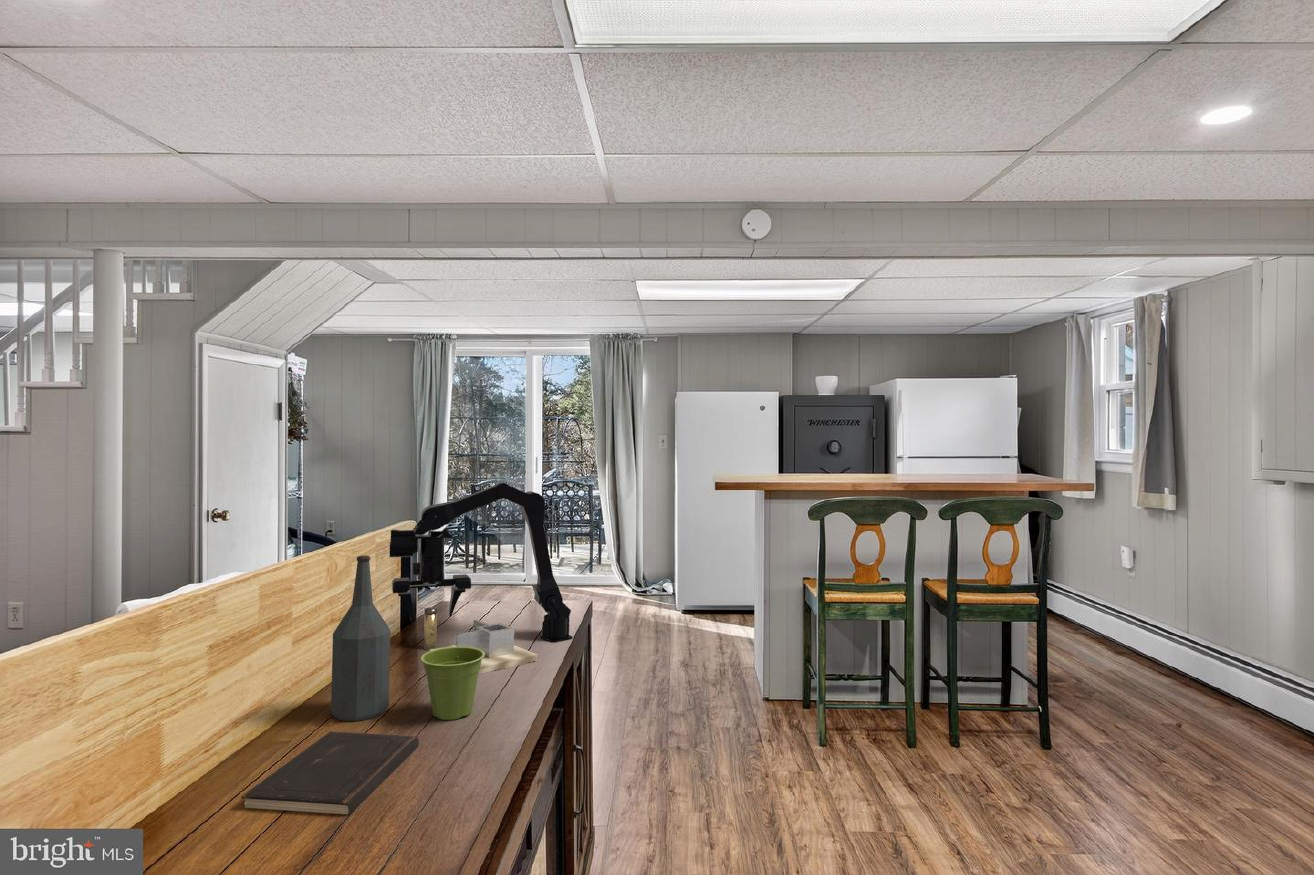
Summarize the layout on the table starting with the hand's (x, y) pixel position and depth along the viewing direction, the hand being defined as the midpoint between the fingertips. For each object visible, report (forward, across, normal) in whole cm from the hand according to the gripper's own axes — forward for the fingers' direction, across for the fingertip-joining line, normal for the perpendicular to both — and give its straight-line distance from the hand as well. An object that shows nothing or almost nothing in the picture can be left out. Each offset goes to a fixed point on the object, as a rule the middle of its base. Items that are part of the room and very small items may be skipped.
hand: (431, 617), depth 181 cm
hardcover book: (+8, +20, +67) cm, 70 cm away
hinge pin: (+8, 0, 0) cm, 8 cm away
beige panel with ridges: (+8, -11, +13) cm, 19 cm away
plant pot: (+8, 0, +47) cm, 47 cm away
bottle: (+8, +16, +40) cm, 44 cm away
